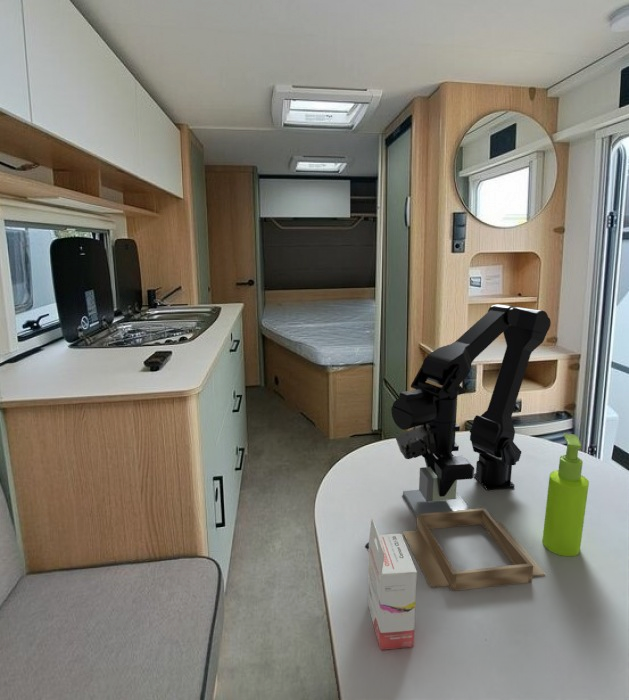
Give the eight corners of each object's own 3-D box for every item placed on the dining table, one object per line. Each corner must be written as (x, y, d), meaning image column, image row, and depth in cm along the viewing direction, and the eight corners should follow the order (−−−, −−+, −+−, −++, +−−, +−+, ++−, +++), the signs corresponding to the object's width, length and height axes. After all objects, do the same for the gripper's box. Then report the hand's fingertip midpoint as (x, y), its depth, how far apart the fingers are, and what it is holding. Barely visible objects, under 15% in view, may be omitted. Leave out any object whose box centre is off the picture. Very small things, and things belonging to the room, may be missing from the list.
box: (446, 487, 97) (447, 465, 96) (455, 499, 93) (457, 476, 92) (418, 489, 96) (419, 467, 95) (426, 501, 92) (427, 478, 91)
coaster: (452, 490, 101) (452, 486, 100) (473, 516, 91) (473, 513, 91) (403, 494, 99) (403, 491, 99) (418, 521, 90) (419, 518, 90)
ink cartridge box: (416, 648, 62) (419, 552, 59) (379, 651, 62) (381, 555, 58) (399, 600, 71) (401, 513, 67) (366, 602, 70) (367, 515, 67)
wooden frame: (497, 520, 90) (499, 506, 89) (549, 580, 74) (551, 563, 73) (401, 529, 87) (401, 515, 87) (433, 593, 72) (434, 576, 71)
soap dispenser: (575, 535, 85) (588, 433, 80) (582, 559, 79) (597, 450, 74) (539, 529, 87) (550, 429, 82) (544, 552, 80) (556, 445, 76)
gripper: (387, 403, 99) (386, 470, 102) (417, 440, 81) (414, 520, 84) (438, 400, 100) (434, 466, 104) (478, 436, 82) (472, 514, 86)
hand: (437, 489), depth 94 cm, fingers closed on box, 4 cm apart
